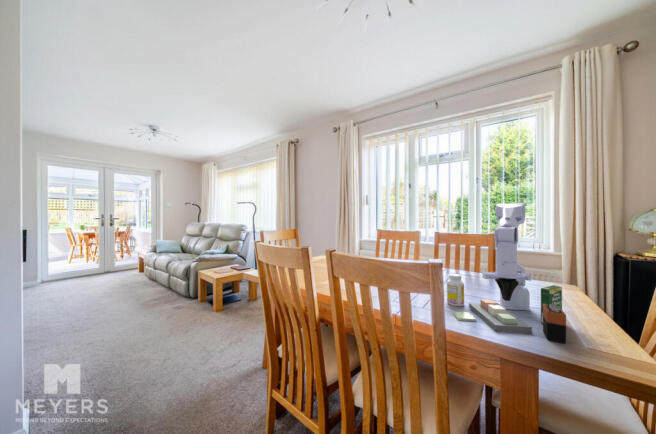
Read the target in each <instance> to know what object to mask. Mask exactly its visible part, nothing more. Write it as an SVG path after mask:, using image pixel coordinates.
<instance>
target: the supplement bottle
mask: <svg viewBox="0 0 656 434" xmlns="http://www.w3.org/2000/svg"><path fill="white" fill-rule="evenodd" d="M448 275H449V279H448V280H447V281H446V302H447V304H449V305H450V306H453V307H462V306H464V305H465V283H464V281H463V280H462V274H458V273H449V274H448Z"/></svg>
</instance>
